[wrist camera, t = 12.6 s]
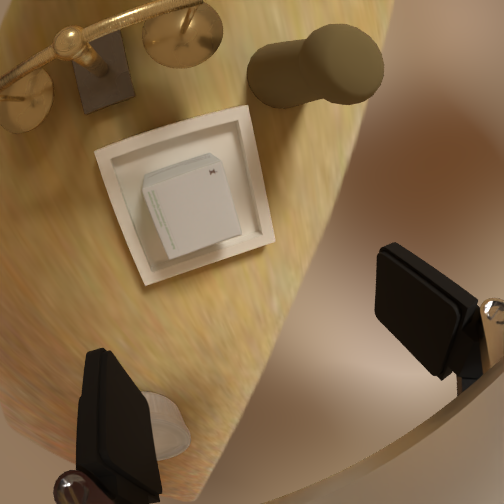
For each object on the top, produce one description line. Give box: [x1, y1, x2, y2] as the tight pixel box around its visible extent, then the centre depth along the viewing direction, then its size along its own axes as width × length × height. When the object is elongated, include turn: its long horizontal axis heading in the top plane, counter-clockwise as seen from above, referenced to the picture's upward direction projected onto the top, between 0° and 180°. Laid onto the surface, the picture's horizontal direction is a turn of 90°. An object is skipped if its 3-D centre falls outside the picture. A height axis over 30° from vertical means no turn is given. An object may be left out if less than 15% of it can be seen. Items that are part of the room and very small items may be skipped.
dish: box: [94, 105, 275, 286], centre depth 24 cm, size 12×12×2 cm
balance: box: [0, 0, 223, 133], centre depth 13 cm, size 6×17×12 cm, turn 103°
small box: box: [142, 153, 242, 260], centre depth 22 cm, size 6×6×5 cm
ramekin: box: [141, 391, 191, 461], centre depth 32 cm, size 11×11×5 cm
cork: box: [247, 24, 384, 109], centre depth 18 cm, size 6×6×11 cm
